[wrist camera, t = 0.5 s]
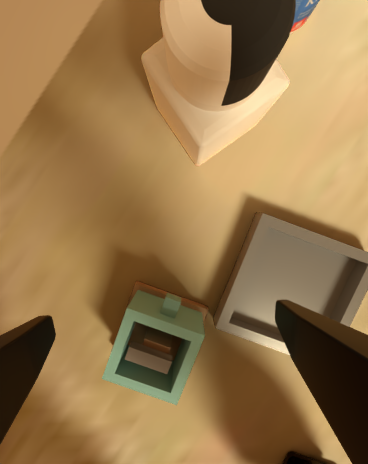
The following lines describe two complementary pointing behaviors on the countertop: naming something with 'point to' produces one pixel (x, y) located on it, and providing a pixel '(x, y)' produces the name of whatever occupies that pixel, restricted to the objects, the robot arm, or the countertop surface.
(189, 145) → the labeled white jar
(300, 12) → the pill bottle
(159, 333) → the brown peg stand
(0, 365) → the robot arm
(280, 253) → the tray
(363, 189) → the countertop surface
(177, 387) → the ring
